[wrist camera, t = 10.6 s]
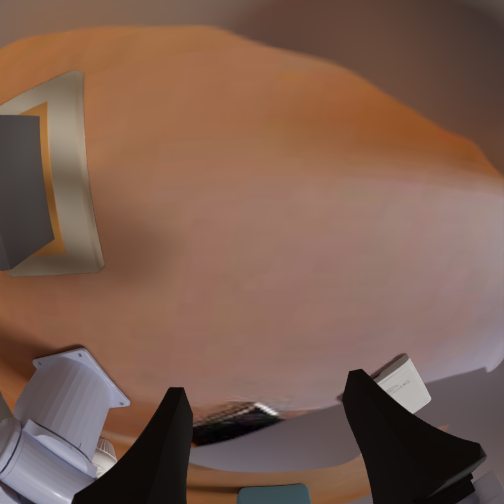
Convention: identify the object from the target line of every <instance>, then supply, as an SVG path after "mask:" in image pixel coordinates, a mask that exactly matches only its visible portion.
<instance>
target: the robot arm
mask: <svg viewBox="0 0 504 504" xmlns="http://www.w3.org/2000/svg"><path fill="white" fill-rule="evenodd" d="M32 363H33V365H34V366H35V367H36V369H37V370H36V371H35V373H34V374H33V376H32V377H31V379H30V380H29V382H28V384H27V385H26V387H25V388H24V390H23V392H22V393H21V395H20V397H19V398H18V400H17V402H16V404H15V408H14V418H6V419H4V420H3V421H2V422H1V423H0V504H187V502H186V479H187V469H188V462H189V455H190V448H191V441H192V430H193V413H192V411H191V408H190V405H189V402H188V399H187V396H186V393H185V390H184V387H170V388H169V389H168V390H167V392H166V394H165V396H164V398H163V400H162V402H161V403H160V405H159V407H158V409H157V410H156V412H155V414H154V415H153V417H152V418H151V420H150V422H149V423H148V425H147V426H146V428H145V429H144V430H143V432H142V433H141V435H140V436H139V437H138V439H137V440H136V441H135V443H134V444H133V445H132V446H131V448H130V449H129V450H128V451H127V452H126V453H125V454H124V456H123V457H122V458H121V459H120V460H119V461H118V462H117V463H116V464H115V465H114V466H113V467H111V468H110V469H109V470H108V471H107V472H106V473H104V474H103V475H102V476H101V477H99V478H98V477H96V473H97V469H98V468H97V467H95V466H94V465H92V464H91V463H92V459H93V456H94V453H95V449H96V446H97V443H98V440H99V437H100V434H101V431H102V428H103V425H104V422H105V419H106V416H107V413H108V410H109V408H113V407H123V406H129V405H130V401H129V399H128V398H127V397H126V396H125V395H124V394H123V393H122V392H121V391H120V390H119V389H118V387H117V386H116V385H115V384H114V383H113V382H112V381H111V379H110V378H109V377H108V376H107V375H106V373H105V372H104V371H103V370H102V369H101V367H100V366H99V365H98V364H97V362H96V361H95V360H94V359H93V357H92V356H91V355H90V353H89V352H88V351H87V350H86V349H85V348H78V349H74V350H70V351H66V352H62V353H58V354H54V355H50V356H46V357H42V358H37V359H34V360H33V361H32ZM342 401H343V405H344V409H345V413H346V416H347V419H348V422H349V424H350V427H351V429H352V431H353V434H354V436H355V438H356V441H357V444H358V446H359V448H360V451H361V453H362V456H363V459H364V462H365V466H366V470H367V474H368V478H369V482H370V487H371V492H372V498H373V504H504V488H503V485H502V483H501V481H500V480H499V478H498V476H497V474H496V472H495V470H494V469H491V470H490V471H489V472H488V473H486V474H485V475H484V476H482V477H481V478H480V479H478V480H477V481H475V482H474V483H473V484H472V482H471V479H473V476H472V474H471V473H472V472H473V471H474V470H475V469H476V468H477V467H478V466H479V465H480V464H481V463H483V461H485V459H486V457H487V455H486V454H485V452H484V450H483V449H482V447H481V445H480V444H479V443H476V442H472V441H468V440H464V439H461V438H458V437H456V436H453V435H450V434H448V433H446V432H444V431H441V430H439V429H437V428H435V427H433V426H431V425H430V424H428V423H426V422H424V421H423V420H421V419H420V418H418V417H417V416H415V415H414V414H412V413H411V412H409V411H408V410H407V409H406V408H404V407H403V406H402V405H400V404H399V403H398V402H397V401H396V400H395V399H393V398H392V397H391V396H390V395H389V394H388V393H387V392H385V391H384V390H383V389H382V388H381V387H380V386H379V385H378V384H377V383H376V382H375V381H374V380H373V379H372V378H371V377H370V376H369V375H368V374H367V373H366V372H365V371H364V370H362V369H358V370H353V371H349V374H348V378H347V382H346V386H345V390H344V394H343V397H342Z"/></svg>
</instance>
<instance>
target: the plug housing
mask: <svg viewBox="0 0 504 504" xmlns="http://www.w3.org/2000/svg"><path fill="white" fill-rule="evenodd" d="M53 240H55V238H54V234H53V229H52V224H51V219H50V214H49V209H48V203H47V197H46V191H45V183H44V176H43V167H42V156H41V142H40V116H28V115H0V270H11V269H13V268H14V267H15V266H17V265H18V264H20V263H21V262H22V261H24V260H25V259H27V258H28V257H29V256H31V255H32V254H34V253H35V252H37V251H38V250H40V249H41V248H42V247H44V246H45V245H47V244H48V243H50V242H52V241H53Z"/></svg>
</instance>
